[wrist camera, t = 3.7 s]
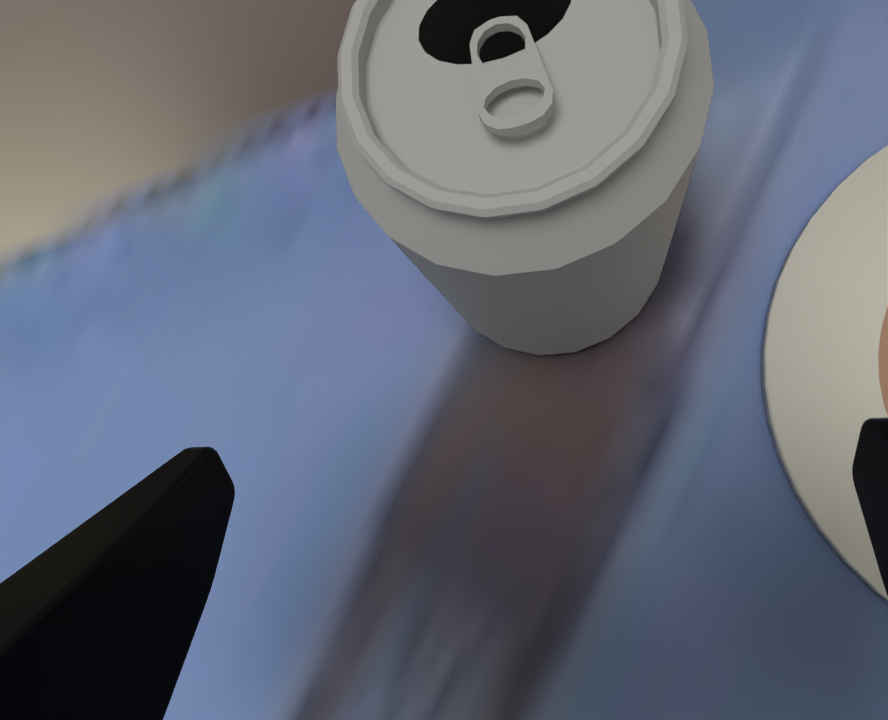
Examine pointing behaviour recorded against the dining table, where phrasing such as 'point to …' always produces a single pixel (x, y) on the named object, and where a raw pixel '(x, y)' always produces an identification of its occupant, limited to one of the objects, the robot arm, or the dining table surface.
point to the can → (527, 152)
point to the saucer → (832, 357)
